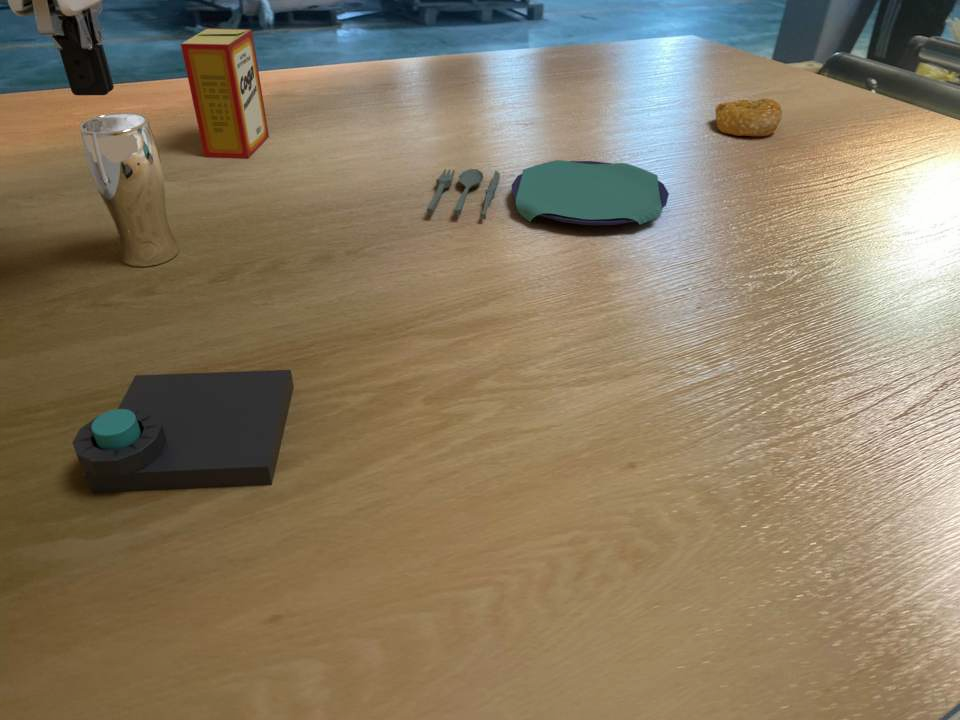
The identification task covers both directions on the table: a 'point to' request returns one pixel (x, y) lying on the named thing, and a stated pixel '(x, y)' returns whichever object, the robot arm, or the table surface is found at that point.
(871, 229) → the table surface
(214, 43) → the baking soda box
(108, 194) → the beer glass
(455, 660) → the table surface
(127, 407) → the black flat square block
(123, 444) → the button
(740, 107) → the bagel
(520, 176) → the cutlery set
